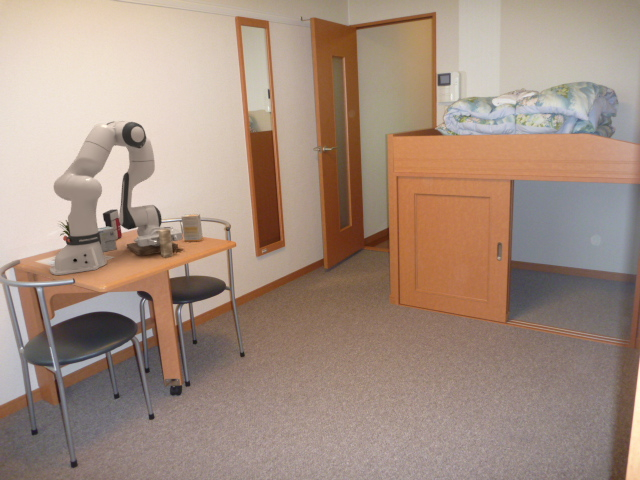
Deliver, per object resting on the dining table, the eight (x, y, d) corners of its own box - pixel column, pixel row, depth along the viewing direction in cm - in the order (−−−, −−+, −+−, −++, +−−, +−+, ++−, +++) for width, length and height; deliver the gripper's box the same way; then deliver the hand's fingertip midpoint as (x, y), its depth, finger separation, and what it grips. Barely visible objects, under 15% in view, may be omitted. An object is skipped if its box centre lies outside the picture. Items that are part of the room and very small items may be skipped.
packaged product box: (115, 241, 277) (110, 213, 274) (106, 242, 277) (102, 213, 274) (122, 236, 288) (119, 209, 284) (114, 237, 288) (110, 209, 285)
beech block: (164, 257, 240) (161, 231, 238) (161, 256, 244) (158, 230, 241) (173, 256, 243) (170, 229, 240) (169, 254, 246) (166, 228, 243)
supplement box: (203, 239, 273) (200, 213, 270) (200, 241, 268) (197, 215, 265) (187, 239, 274) (184, 214, 271) (184, 241, 269) (181, 216, 266)
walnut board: (140, 255, 246) (139, 251, 246) (127, 248, 262) (126, 244, 262) (178, 248, 256) (177, 244, 256) (163, 241, 272) (162, 237, 272)
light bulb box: (111, 247, 266) (108, 225, 263) (117, 249, 261) (114, 227, 258) (89, 252, 259) (86, 229, 256) (95, 254, 254) (92, 231, 251)
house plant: (49, 254, 257) (43, 221, 253) (68, 247, 270) (63, 215, 266) (75, 255, 254) (70, 220, 250) (93, 247, 267) (88, 215, 263)
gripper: (131, 233, 246) (141, 238, 235) (175, 226, 257) (186, 230, 246) (133, 246, 247) (143, 252, 236) (176, 239, 258) (188, 243, 247)
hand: (165, 241), depth 241 cm, fingers open, 8 cm apart
